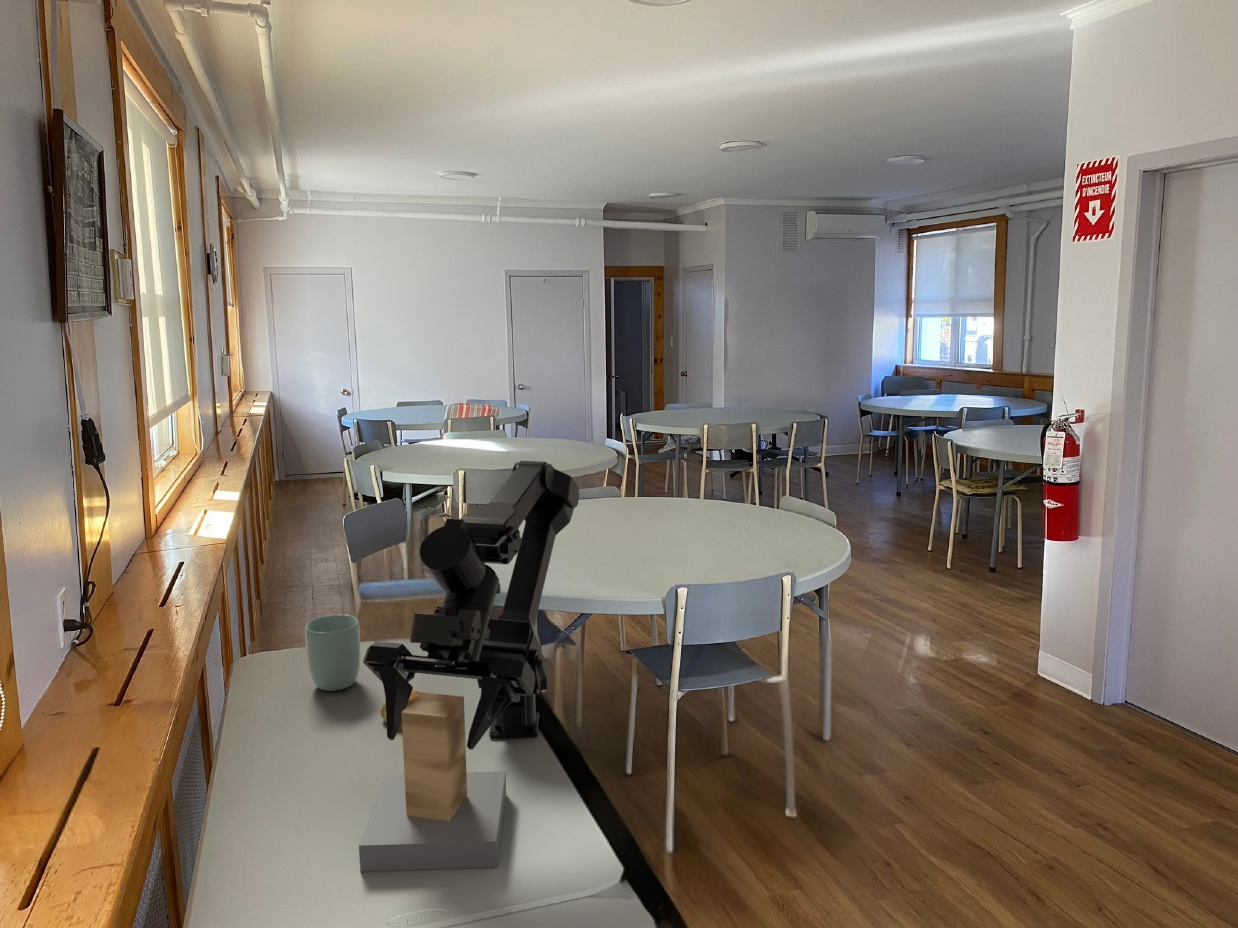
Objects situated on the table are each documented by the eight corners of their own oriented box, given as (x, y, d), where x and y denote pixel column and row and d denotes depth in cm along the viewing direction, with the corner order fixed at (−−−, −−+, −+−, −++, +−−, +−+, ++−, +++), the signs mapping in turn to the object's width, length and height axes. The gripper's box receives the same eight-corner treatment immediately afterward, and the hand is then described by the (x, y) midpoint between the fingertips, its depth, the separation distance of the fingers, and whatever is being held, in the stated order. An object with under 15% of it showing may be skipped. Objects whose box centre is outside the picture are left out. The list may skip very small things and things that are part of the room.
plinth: (387, 797, 107) (386, 774, 107) (506, 794, 108) (505, 771, 107) (360, 871, 94) (358, 845, 93) (496, 867, 94) (496, 841, 94)
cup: (308, 679, 140) (303, 617, 138) (360, 671, 143) (356, 611, 141) (310, 700, 133) (305, 635, 131) (364, 691, 136) (361, 628, 134)
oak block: (426, 790, 103) (421, 692, 101) (467, 796, 102) (463, 696, 100) (406, 815, 98) (401, 712, 96) (449, 820, 97) (445, 716, 95)
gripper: (366, 573, 102) (319, 708, 93) (525, 585, 97) (490, 728, 89) (401, 616, 111) (361, 743, 102) (548, 628, 106) (519, 762, 98)
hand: (429, 743), depth 97 cm, fingers open, 9 cm apart
